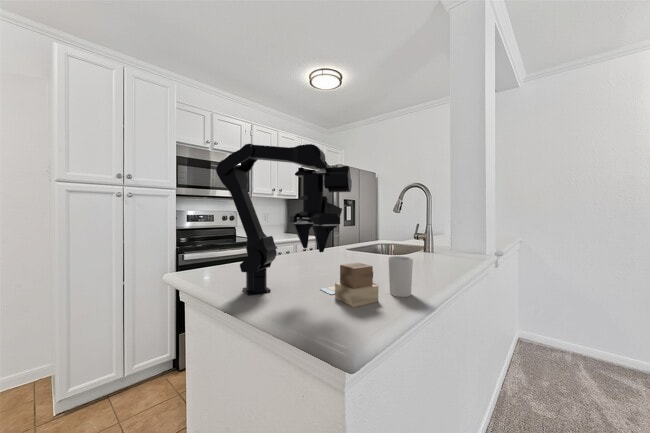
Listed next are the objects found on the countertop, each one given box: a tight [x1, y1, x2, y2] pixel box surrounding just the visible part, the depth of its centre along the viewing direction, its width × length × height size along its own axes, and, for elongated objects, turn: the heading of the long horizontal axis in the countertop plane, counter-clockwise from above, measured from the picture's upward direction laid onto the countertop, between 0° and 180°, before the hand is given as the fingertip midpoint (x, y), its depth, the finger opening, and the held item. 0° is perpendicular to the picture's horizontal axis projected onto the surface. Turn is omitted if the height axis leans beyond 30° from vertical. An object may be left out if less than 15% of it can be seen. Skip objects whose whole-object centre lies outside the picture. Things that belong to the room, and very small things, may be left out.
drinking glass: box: [388, 255, 414, 298], centre depth 76 cm, size 7×7×10 cm
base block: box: [334, 281, 379, 308], centre depth 71 cm, size 8×8×4 cm
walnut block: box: [339, 262, 374, 289], centre depth 71 cm, size 6×6×5 cm
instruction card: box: [319, 285, 335, 296], centre depth 80 cm, size 6×9×1 cm, turn 121°
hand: (312, 250), depth 74 cm, fingers open, 9 cm apart
